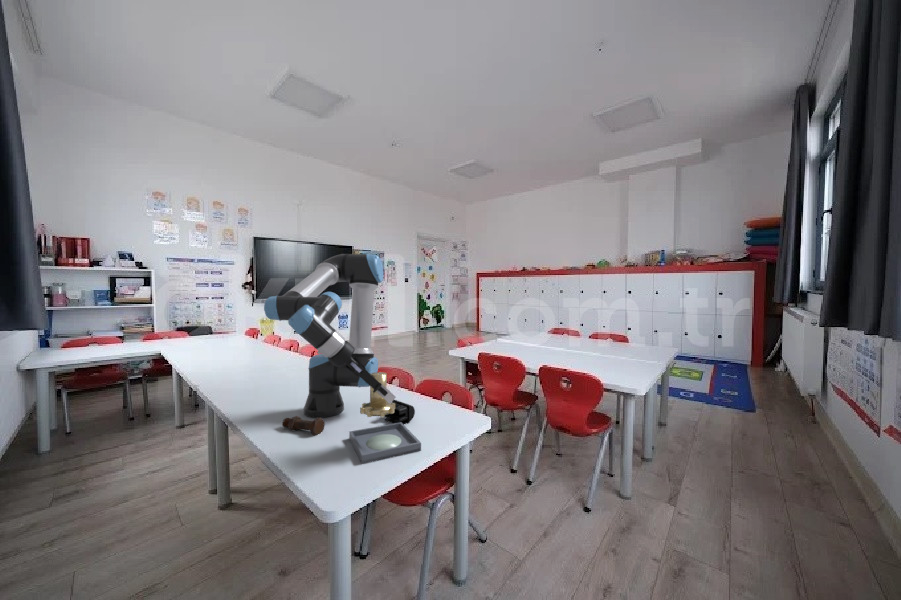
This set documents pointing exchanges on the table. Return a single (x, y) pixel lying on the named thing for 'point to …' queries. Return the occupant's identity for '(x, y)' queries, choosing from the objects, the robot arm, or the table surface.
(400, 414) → the end cap
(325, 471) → the table surface
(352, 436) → the carrier tray
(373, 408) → the toothed flange peg
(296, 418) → the bolt
